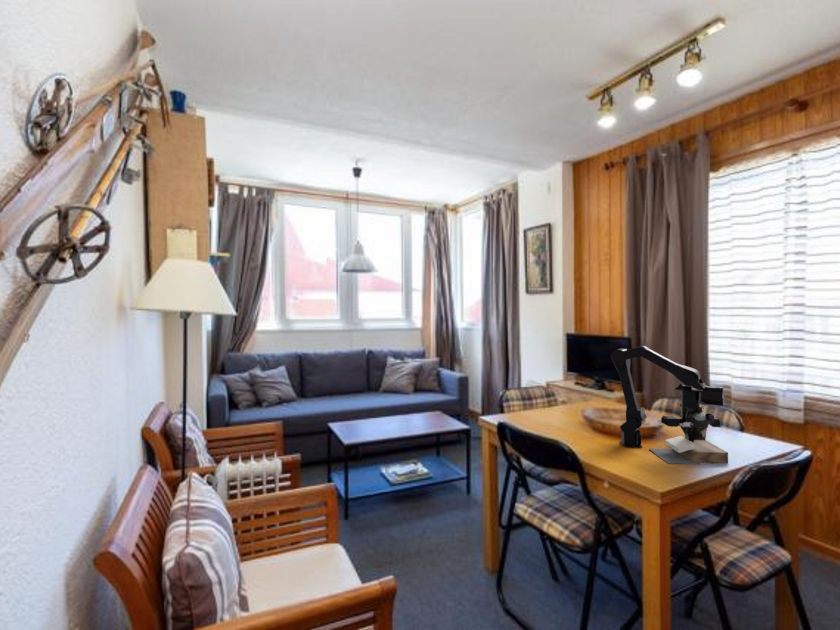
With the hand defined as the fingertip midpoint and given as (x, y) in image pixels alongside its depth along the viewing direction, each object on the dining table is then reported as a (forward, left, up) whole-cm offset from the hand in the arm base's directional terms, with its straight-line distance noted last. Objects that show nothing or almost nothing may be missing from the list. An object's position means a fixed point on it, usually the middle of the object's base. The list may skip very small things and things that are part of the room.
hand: (690, 443), depth 158 cm
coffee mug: (+11, +15, -5) cm, 19 cm away
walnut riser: (+3, 0, -5) cm, 6 cm away
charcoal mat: (-6, -1, -5) cm, 8 cm away
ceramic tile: (-4, 0, -1) cm, 4 cm away
